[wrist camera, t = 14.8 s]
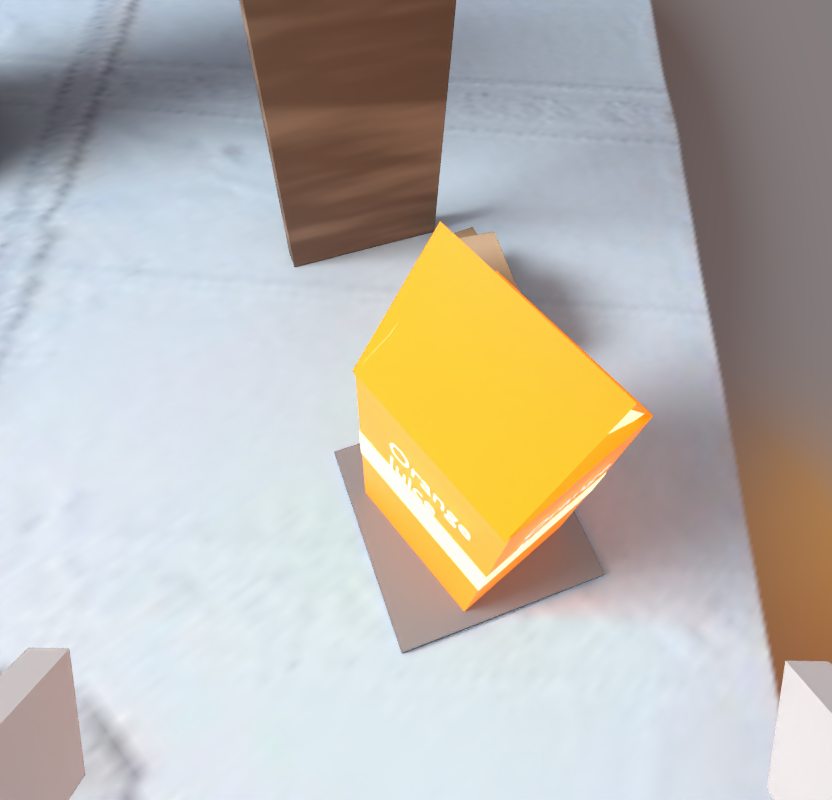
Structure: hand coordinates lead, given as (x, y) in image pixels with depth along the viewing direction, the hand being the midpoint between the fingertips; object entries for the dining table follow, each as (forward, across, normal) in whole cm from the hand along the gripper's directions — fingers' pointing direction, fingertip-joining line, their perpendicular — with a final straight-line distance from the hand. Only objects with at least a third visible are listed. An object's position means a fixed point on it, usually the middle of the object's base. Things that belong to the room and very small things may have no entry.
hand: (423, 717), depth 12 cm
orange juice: (+25, +2, -6) cm, 26 cm away
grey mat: (+25, +2, -6) cm, 26 cm away
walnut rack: (+35, -2, +6) cm, 36 cm away
